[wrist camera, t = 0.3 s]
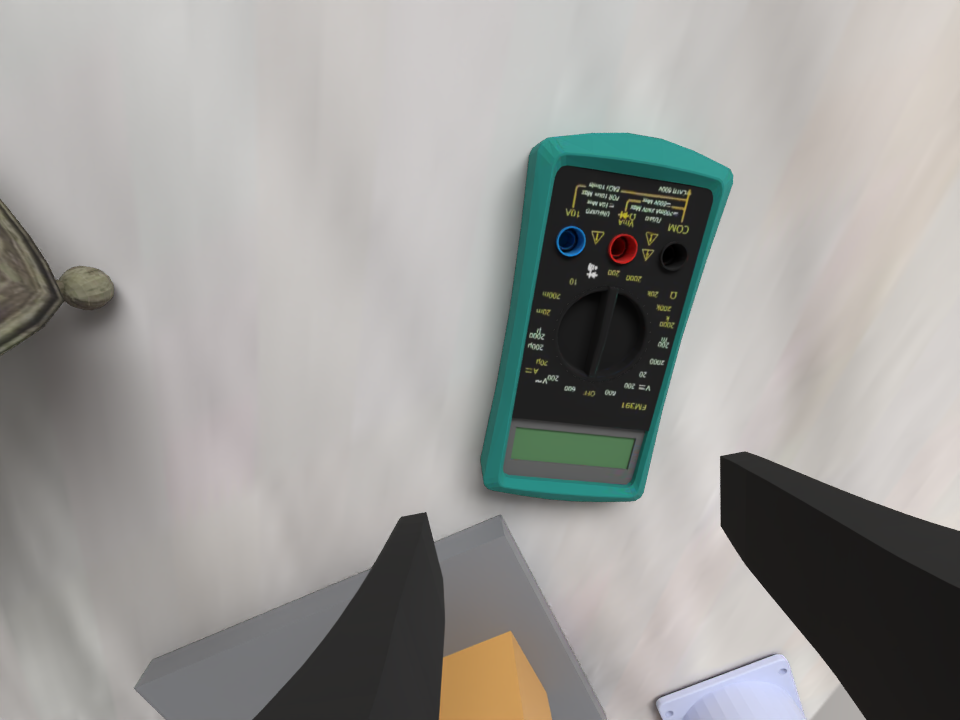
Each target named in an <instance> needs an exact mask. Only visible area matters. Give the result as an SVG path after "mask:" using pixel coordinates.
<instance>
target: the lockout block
mask: <svg viewBox="0 0 960 720" xmlns="http://www.w3.org/2000/svg"><path fill="white" fill-rule="evenodd" d="M439 720H552V717H551V712H550V707H549V702H548V697H547V693H546V691H545V689H544V687H543V686H542V684H541V682H540V680H539V679H538V677H537V675H536V674H535V672H534V670H533V668H532V667H531V665H530V663H529V661H528V660H527V658H526V656H525V654H524V653H523V651H522V649H521V647H520V646H519V644H518V642H517V641H516V639H515V637H514V635H513V634H512V632H511V631H509V632H506V633H504V634H501V635H499V636H496V637H494V638H491V639H489V640H486V641H483V642H481V643H478V644H476V645H473V646H471V647H468V648H466V649H463V650H461V651H458V652H456V653H453V654H451V655H448V656H446V657H443V666H442V682H441V697H440V712H439Z"/></svg>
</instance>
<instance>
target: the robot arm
mask: <svg viewBox="0 0 960 720" xmlns="http://www.w3.org/2000/svg"><path fill="white" fill-rule="evenodd" d="M720 494H721V527H722V529H723V530H724V532H725V534H726V535H727V537H728V538H729V540H730V542H731V543H732V545H733V547H734V548H735V550H736V551H737V553H738V554H739V556H740V557H741V559H742V560H743V562H744V563H745V565H746V566H747V567H748V568H749V570H750V571H751V572H752V573H753V575H754V576H755V577H756V578H757V580H758V581H759V582H760V583H761V584H762V586H763V587H764V588H765V589H766V591H767V592H768V593H769V594H770V595H771V597H772V598H773V599H774V600H775V602H776V603H777V604H778V605H779V606H780V608H781V609H782V610H783V611H784V612H785V614H786V615H787V616H788V617H789V618H790V620H791V621H792V622H793V623H794V624H795V626H796V627H797V628H798V629H799V630H800V632H801V633H802V634H803V635H804V636H805V638H806V639H807V640H808V641H809V642H810V644H811V645H812V646H813V647H814V648H815V650H816V651H817V652H818V653H819V655H820V656H821V657H822V658H823V660H824V661H825V662H826V664H827V665H828V666H829V668H830V669H831V670H832V671H833V673H834V674H835V675H836V677H837V678H838V680H839V681H840V682H841V684H842V685H843V687H844V688H845V690H846V691H847V692H848V694H849V695H850V697H851V698H852V700H853V701H854V703H855V704H856V705H857V707H858V708H859V710H860V711H861V712H862V714H863V715H864V717H865V718H866V720H960V531H957V530H954V529H951V528H947V527H944V526H941V525H938V524H934V523H931V522H928V521H925V520H922V519H919V518H916V517H913V516H910V515H907V514H904V513H902V512H899V511H896V510H893V509H890V508H888V507H885V506H882V505H879V504H877V503H874V502H871V501H868V500H866V499H863V498H861V497H858V496H855V495H853V494H850V493H848V492H845V491H843V490H840V489H838V488H835V487H833V486H830V485H828V484H825V483H823V482H820V481H818V480H816V479H813V478H811V477H808V476H806V475H804V474H801V473H799V472H796V471H794V470H792V469H789V468H787V467H784V466H782V465H779V464H777V463H775V462H772V461H770V460H767V459H765V458H762V457H759V456H757V455H754V454H751V453H748V452H740V453H735V454H729V455H724V456H720ZM444 635H445V603H444V583H443V576H442V572H441V568H440V564H439V560H438V556H437V552H436V548H435V545H434V541H433V537H432V533H431V529H430V525H429V521H428V517H427V513H426V512H425V513H419V514H414V515H409V516H404V517H401V518H400V519H399V521H398V522H397V524H396V526H395V528H394V530H393V531H392V533H391V535H390V537H389V539H388V541H387V542H386V544H385V546H384V548H383V549H382V551H381V553H380V555H379V556H378V558H377V560H376V562H375V563H374V565H373V566H372V568H371V570H370V571H369V573H368V575H367V576H366V578H365V580H364V581H363V583H362V584H361V586H360V588H359V589H358V591H357V592H356V594H355V595H354V597H353V598H352V600H351V601H350V602H349V604H348V605H347V607H346V608H345V610H344V611H343V613H342V614H341V616H340V617H339V619H338V620H337V621H336V623H335V624H334V626H333V627H332V628H331V630H330V631H329V632H328V634H327V635H326V636H325V638H324V639H323V640H322V641H321V643H320V644H319V645H318V647H317V648H316V649H315V650H314V652H313V653H312V654H311V655H310V657H309V658H308V659H307V660H306V661H305V663H304V664H303V665H302V666H301V667H300V669H299V670H298V671H297V672H296V673H295V674H294V675H293V676H292V677H291V679H290V680H289V681H288V682H287V683H286V684H285V685H284V686H283V687H282V688H281V689H280V691H279V692H278V693H277V694H276V695H275V696H274V697H273V698H272V699H271V700H270V701H269V703H268V704H267V705H266V706H265V707H264V708H263V709H262V710H261V711H260V712H259V713H258V714H257V715H256V716H255V717H254V718H253V719H252V720H439V712H440V697H441V682H442V666H443V651H444ZM656 706H657V709H658V711H659V713H660V715H661V718H662V720H807V719H806V718H805V715H804V712H803V708H802V705H801V702H800V698H799V695H798V692H797V688H796V685H795V682H794V678H793V675H792V672H791V669H790V665H789V662H788V661H787V659H786V658H785V657H784V655H782V654H776V655H773V656H770V657H767V658H765V659H762V660H759V661H757V662H754V663H751V664H749V665H746V666H743V667H741V668H738V669H735V670H733V671H730V672H727V673H725V674H722V675H719V676H717V677H714V678H711V679H709V680H706V681H703V682H701V683H698V684H695V685H693V686H690V687H687V688H685V689H682V690H679V691H677V692H674V693H671V694H669V695H666V696H663V697H661V698H659V699H658V700H657V702H656Z"/></svg>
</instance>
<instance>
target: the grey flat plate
mask: <svg viewBox="0 0 960 720" xmlns="http://www.w3.org/2000/svg"><path fill="white" fill-rule="evenodd" d="M434 545H435V548H436V552H437V556H438V560H439V564H440V568H441V572H442V576H443V583H444V603H445V635H444V651H443V657H446V656H448V655H451V654H453V653H456V652H458V651H461V650H463V649H466V648H468V647H471V646H473V645H476V644H478V643H481V642H483V641H486V640H489V639H491V638H494V637H496V636H499V635H501V634H504V633H506V632H509V631H511V632H512V634H513V635H514V637H515V639H516V641H517V642H518V644H519V646H520V647H521V649H522V651H523V653H524V654H525V656H526V658H527V660H528V661H529V663H530V665H531V667H532V668H533V670H534V672H535V674H536V675H537V677H538V679H539V680H540V682H541V684H542V686H543V687H544V689H545V691H546V693H547V697H548V702H549V707H550V712H551V717H552V720H607V718H606V714H605V712H604V710H603V708H602V707H601V705H600V703H599V701H598V699H597V697H596V695H595V693H594V691H593V689H592V687H591V685H590V684H589V682H588V680H587V678H586V676H585V674H584V672H583V670H582V668H581V666H580V664H579V663H578V661H577V659H576V657H575V655H574V653H573V651H572V649H571V647H570V645H569V643H568V642H567V640H566V638H565V636H564V634H563V632H562V630H561V628H560V626H559V624H558V622H557V621H556V619H555V617H554V615H553V613H552V611H551V609H550V607H549V605H548V603H547V601H546V600H545V598H544V596H543V594H542V592H541V590H540V588H539V586H538V584H537V582H536V580H535V579H534V577H533V575H532V573H531V571H530V569H529V567H528V565H527V563H526V561H525V559H524V558H523V556H522V554H521V552H520V550H519V548H518V546H517V544H516V542H515V540H514V538H513V537H512V535H511V533H510V531H509V529H508V527H507V525H506V523H505V521H504V519H503V517H502V516H501V515H499V516H496V517H494V518H491V519H489V520H487V521H484V522H482V523H479V524H477V525H475V526H472V527H470V528H467V529H465V530H463V531H460V532H458V533H455V534H453V535H451V536H448V537H446V538H443V539H441V540H439V541H436V542H434ZM370 570H371V569H369V570H367V571H364V572H362V573H360V574H357V575H355V576H352V577H350V578H348V579H345V580H343V581H340V582H338V583H336V584H333V585H331V586H328V587H326V588H324V589H321V590H319V591H316V592H314V593H312V594H309V595H307V596H304V597H302V598H300V599H297V600H295V601H292V602H290V603H288V604H285V605H283V606H280V607H278V608H276V609H273V610H271V611H268V612H266V613H264V614H261V615H259V616H256V617H254V618H252V619H249V620H247V621H244V622H242V623H240V624H237V625H235V626H232V627H230V628H228V629H225V630H223V631H221V632H218V633H216V634H213V635H211V636H209V637H206V638H204V639H201V640H199V641H197V642H194V643H192V644H189V645H187V646H185V647H182V648H180V649H177V650H175V651H173V652H170V653H168V654H165V655H163V656H161V657H158V658H156V659H153V660H152V661H151V662H150V664H149V666H148V667H147V669H146V670H145V672H144V673H143V675H142V676H141V678H140V679H139V681H138V683H137V684H136V686H135V687H134V689H135V690H136V691H137V692H138V693H139V694H140V695H141V696H142V697H143V698H144V699H145V700H146V701H147V702H148V703H149V704H150V705H151V706H152V707H153V708H154V709H155V710H156V711H157V712H158V713H159V714H160V715H162V716H163V717H164V718H165V719H166V720H252V719H253V718H254V717H255V716H256V715H257V714H258V713H259V712H260V711H261V710H262V709H263V708H264V707H265V706H266V705H267V704H268V703H269V701H270V700H271V699H272V698H273V697H274V696H275V695H276V694H277V693H278V692H279V691H280V689H281V688H282V687H283V686H284V685H285V684H286V683H287V682H288V681H289V680H290V679H291V677H292V676H293V675H294V674H295V673H296V672H297V671H298V670H299V669H300V667H301V666H302V665H303V664H304V663H305V661H306V660H307V659H308V658H309V657H310V655H311V654H312V653H313V652H314V650H315V649H316V648H317V647H318V645H319V644H320V643H321V641H322V640H323V639H324V638H325V636H326V635H327V634H328V632H329V631H330V630H331V628H332V627H333V626H334V624H335V623H336V621H337V620H338V619H339V617H340V616H341V614H342V613H343V611H344V610H345V608H346V607H347V605H348V604H349V602H350V601H351V600H352V598H353V597H354V595H355V594H356V592H357V591H358V589H359V588H360V586H361V584H362V583H363V581H364V580H365V578H366V576H367V575H368V573H369V571H370Z"/></svg>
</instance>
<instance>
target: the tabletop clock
mask: <svg viewBox="0 0 960 720" xmlns="http://www.w3.org/2000/svg"><path fill="white" fill-rule="evenodd" d="M113 296H114V285H113V283H112V281H111V279H110V278H109V276H107V275H106V274H105V273H104V272H103V271H101V270H99V269H96V268H91V267H85V266H77V267H73V268H71V269H69V270H67V271H66V272H65V273H64V274H63V275H62V276H61V277H60V279H59V280H55V278H54V276H53V274H52V272H51V270H50V268H49V265H48V263H47V262H46V260H45V259H44V257H43V256H42V254H41V252H40V251H39V249H38V248H37V246H36V245H35V243H34V242H33V240H32V239H31V237H30V236H29V234H28V233H27V232H26V231H25V229H24V228H23V227H22V226H21V224H20V223H19V222H18V220H17V219H16V218H15V217H14V215H13V214H12V213H11V211H10V210H9V209H8V208H7V207H6V205H5V204H4V203H3V202H2V200H1V199H0V356H1V355H3V354H4V353H6V352H7V351H9V350H10V349H12V348H13V347H15V346H16V345H18V344H19V343H21V342H23V341H24V340H25V339H27V338H28V337H30V336H31V335H33V334H34V333H36V332H37V331H39V330H40V329H42V328H43V327H44V326H45V325H46V324H47V322H48V321H49V320H50V318H51V317H52V316H53V315H54V313H55V312H56V311H57V310H58V308H59V307H60V306H61V305H62V303H63V302H64V301H65V302H67V303H68V304H69V305H70V306H73V307H76V308H80V309H84V310H94V309H98V308H101V307H102V306H104V305H105V304H106V303H108V302H109V301H110V300H111V299H112V297H113Z"/></svg>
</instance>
